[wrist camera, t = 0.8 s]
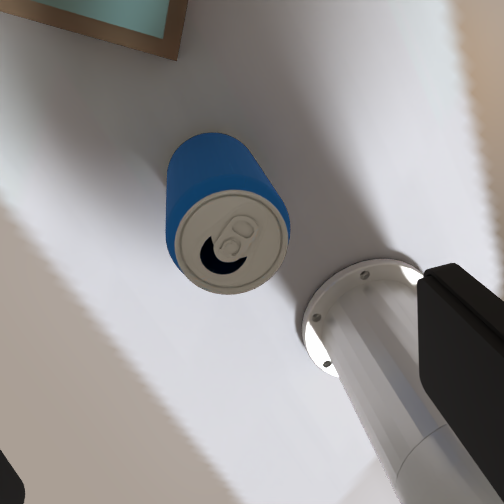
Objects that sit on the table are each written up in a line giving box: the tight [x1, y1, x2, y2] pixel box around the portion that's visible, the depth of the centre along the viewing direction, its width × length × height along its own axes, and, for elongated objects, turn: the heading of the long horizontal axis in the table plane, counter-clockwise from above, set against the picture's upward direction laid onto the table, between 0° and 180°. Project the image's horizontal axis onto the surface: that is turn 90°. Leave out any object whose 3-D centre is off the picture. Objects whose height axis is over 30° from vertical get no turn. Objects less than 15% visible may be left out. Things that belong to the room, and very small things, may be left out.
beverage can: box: [166, 133, 290, 295], centre depth 27 cm, size 6×6×12 cm
